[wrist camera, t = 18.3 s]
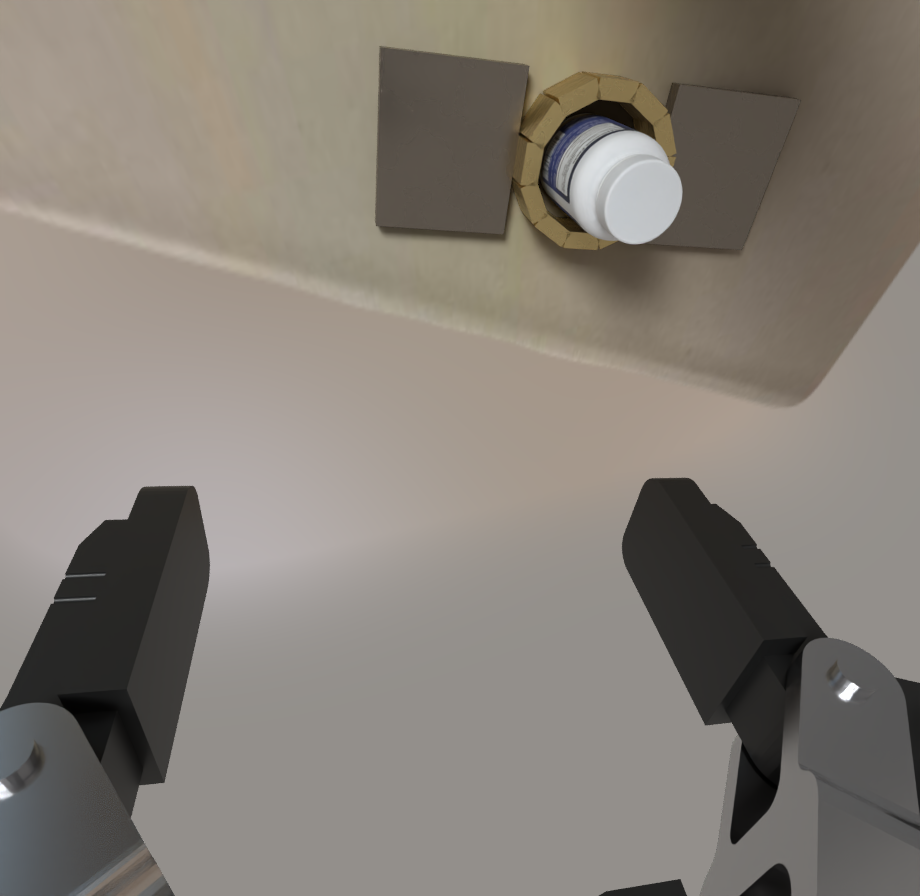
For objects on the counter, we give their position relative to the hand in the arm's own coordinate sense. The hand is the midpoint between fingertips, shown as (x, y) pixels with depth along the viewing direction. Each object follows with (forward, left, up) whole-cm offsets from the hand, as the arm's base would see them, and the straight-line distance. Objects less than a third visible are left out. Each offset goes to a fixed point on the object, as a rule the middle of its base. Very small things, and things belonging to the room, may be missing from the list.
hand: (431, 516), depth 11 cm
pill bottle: (-1, +13, -30) cm, 33 cm away
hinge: (-1, +13, -30) cm, 33 cm away
